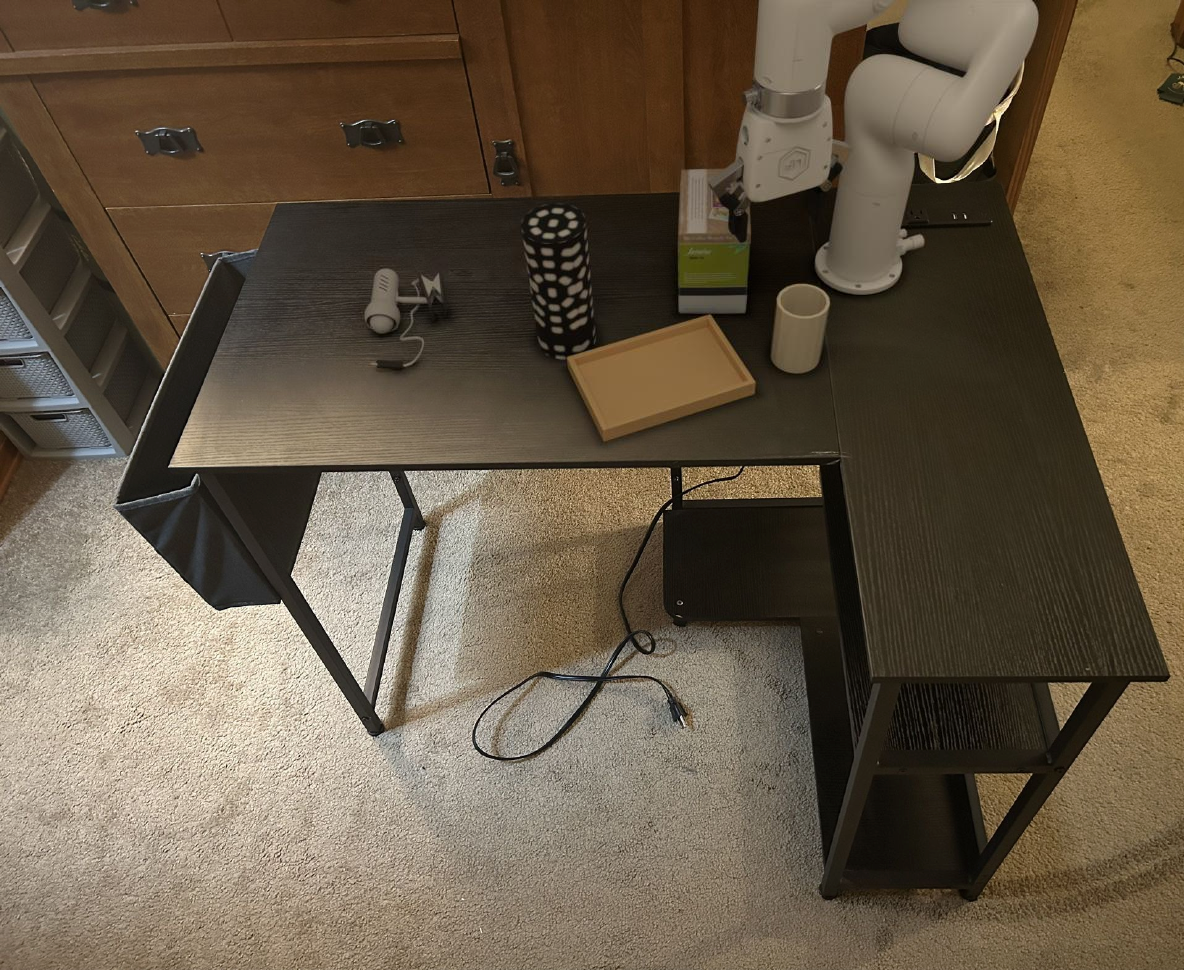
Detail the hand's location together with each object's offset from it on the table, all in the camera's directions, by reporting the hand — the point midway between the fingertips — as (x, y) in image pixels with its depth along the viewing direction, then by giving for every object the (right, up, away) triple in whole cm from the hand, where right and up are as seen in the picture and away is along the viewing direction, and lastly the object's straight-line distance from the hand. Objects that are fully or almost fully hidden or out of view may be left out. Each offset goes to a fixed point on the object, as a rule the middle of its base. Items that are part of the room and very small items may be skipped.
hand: (774, 225), depth 111 cm
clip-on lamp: (-49, -9, +25) cm, 56 cm away
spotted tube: (-26, -10, +22) cm, 35 cm away
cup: (+6, -13, +16) cm, 22 cm away
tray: (-13, -17, +15) cm, 26 cm away
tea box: (-4, -1, +27) cm, 28 cm away
